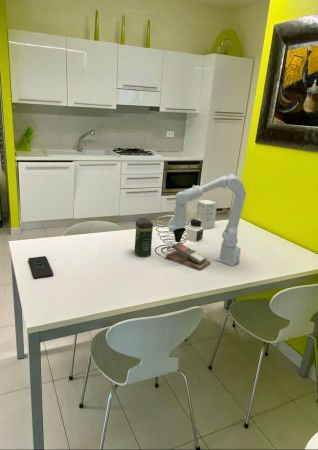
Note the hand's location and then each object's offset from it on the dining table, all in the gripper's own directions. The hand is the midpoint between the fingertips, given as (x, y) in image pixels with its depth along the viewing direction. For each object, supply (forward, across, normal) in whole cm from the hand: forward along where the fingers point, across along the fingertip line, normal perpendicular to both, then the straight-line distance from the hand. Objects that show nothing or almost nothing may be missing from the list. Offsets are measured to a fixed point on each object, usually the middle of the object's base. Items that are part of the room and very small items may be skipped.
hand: (177, 241), depth 173 cm
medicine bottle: (+9, -29, -7) cm, 31 cm away
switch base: (+8, 0, +7) cm, 11 cm away
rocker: (+4, 0, +7) cm, 8 cm away
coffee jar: (+9, +9, -15) cm, 20 cm away
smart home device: (+9, +55, -37) cm, 67 cm away
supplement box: (+9, -54, -14) cm, 57 cm away
